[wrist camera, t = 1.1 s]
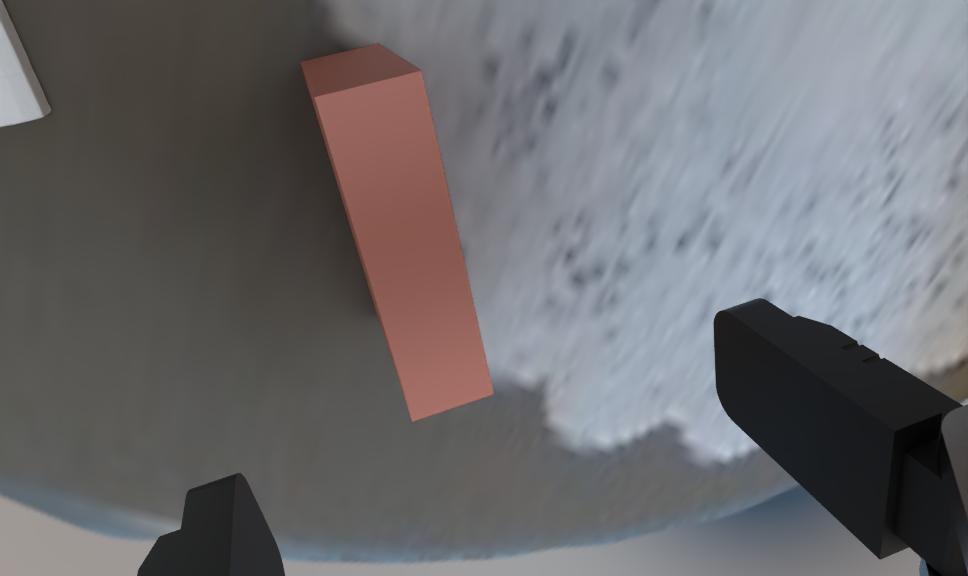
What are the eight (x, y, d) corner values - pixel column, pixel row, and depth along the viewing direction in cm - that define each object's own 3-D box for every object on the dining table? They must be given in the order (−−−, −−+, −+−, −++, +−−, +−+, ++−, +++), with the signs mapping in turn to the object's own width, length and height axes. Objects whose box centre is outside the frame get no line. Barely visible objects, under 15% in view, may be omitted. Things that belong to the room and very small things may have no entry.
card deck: (300, 61, 20) (314, 97, 14) (378, 43, 20) (421, 70, 15) (377, 316, 24) (412, 421, 19) (441, 297, 25) (493, 394, 19)
